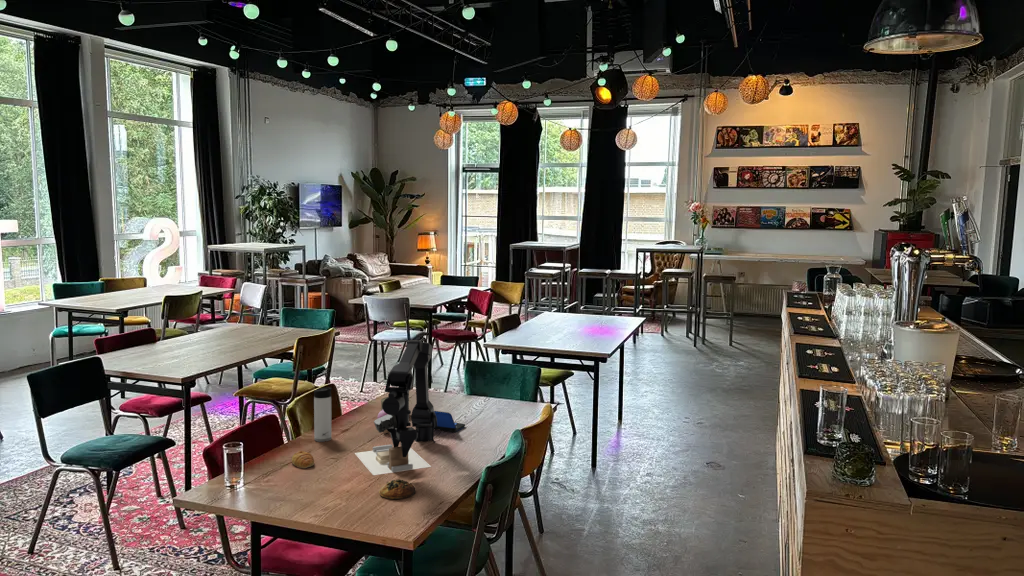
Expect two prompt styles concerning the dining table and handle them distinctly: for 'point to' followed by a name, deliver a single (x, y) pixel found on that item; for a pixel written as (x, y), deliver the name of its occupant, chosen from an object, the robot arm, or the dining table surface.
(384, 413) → the cupcake
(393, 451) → the walnut panel
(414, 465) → the rack
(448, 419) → the handheld game console
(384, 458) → the offcut stack
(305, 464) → the pastry
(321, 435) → the travel mug
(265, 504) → the dining table surface
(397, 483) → the bread roll
